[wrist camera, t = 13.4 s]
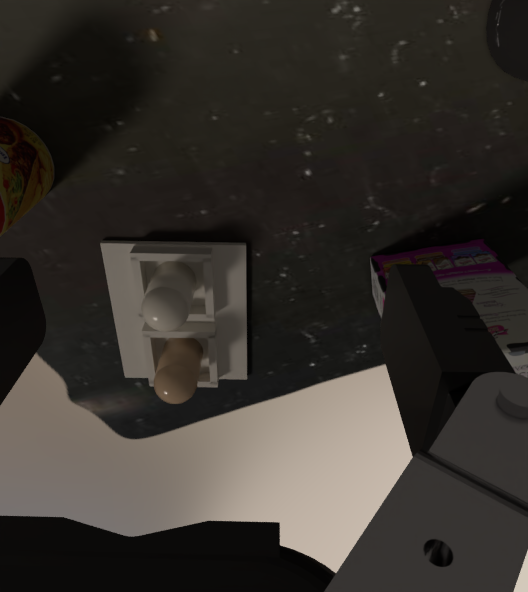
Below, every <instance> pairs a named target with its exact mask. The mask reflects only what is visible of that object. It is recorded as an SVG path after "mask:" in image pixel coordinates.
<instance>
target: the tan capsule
mask: <svg viewBox="0 0 528 592" xmlns="http://www.w3.org/2000/svg"><path fill="white" fill-rule="evenodd" d="M202 357H203V348H202V346H201V344H200V343H199V342H198V341H197V340H196V339H194V338H169V339H168V340H167V341H166V342H165V344H164V347H163V350H162V354H161V357H160V360H159V363H158V367H157V370H156V373H155V377H154V388H155V391H156V393H157V395H158V396H159V397H160V398H161V399H162V400H163V401H165V402H167V403H171V404H179V403H183V402H185V401H187V400H188V399H190V398H191V397H192V396H193V394H194V393H195V391H196V388H197V384H198V379H199V374H200V368H201V363H202Z"/></svg>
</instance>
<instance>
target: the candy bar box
mask: <svg viewBox="0 0 528 592" xmlns="http://www.w3.org/2000/svg"><path fill="white" fill-rule="evenodd" d="M370 263H371V277H372V292H373V298H374V301H375V304H376V306H377V309H378V311H379V314H380V317H381V319H382V313H383V307H384V301H385V294H386V288H387V282H388V276H389V271H390V268H391V266H392V265H393V264H427V265H429V266H430V268H431V269H432V271H433V273H434V275H435V277H436V278H437V280H438V282H439V284H440V286H441V287H453V288H454V289H456V290H457V291H458V292H460V293H461V294H462V295H464V296H465V297H466V298H468V299H469V300H471V302H472V304H473V305H474V307H475V308H476V310H477V312H478V313H479V315H480V319H482V320H483V321H484V323H485V324H486V326H487V328H488V332H491V334H492V336H493V337H494V339H495V340H496V342H497V344H498V345H499V347H500V348H501V350H502V352H503V353H504V355H505V356H506V358H507V360H508V361H509V363H510V364H511V366H512V368H513V369H514V371H515V372H516V374H518V375H522V376H525V377H527V378H528V289H527V288H526V287H525V285H524V284H523V283H522V282H521V281H520V280H519V279H518V277H517V276H516V275H515V274H514V273H513V272H512V271H511V270H510V269H509V267H508V266H507V265H506V264H505V263H504V262H503V261H502V259H501V258H500V257H499V256H498V255H497V254H496V253H495V251H494V250H493V249H492V248H491V247H490V246H489V244H488V243H487V242H486V241H485V240H484V239H476V240H470V241H464V242H458V243H452V244H446V245H440V246H434V247H428V248H422V249H416V250H409V251H403V252H397V253H391V254H384V255H378V256H372V257H370Z"/></svg>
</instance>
